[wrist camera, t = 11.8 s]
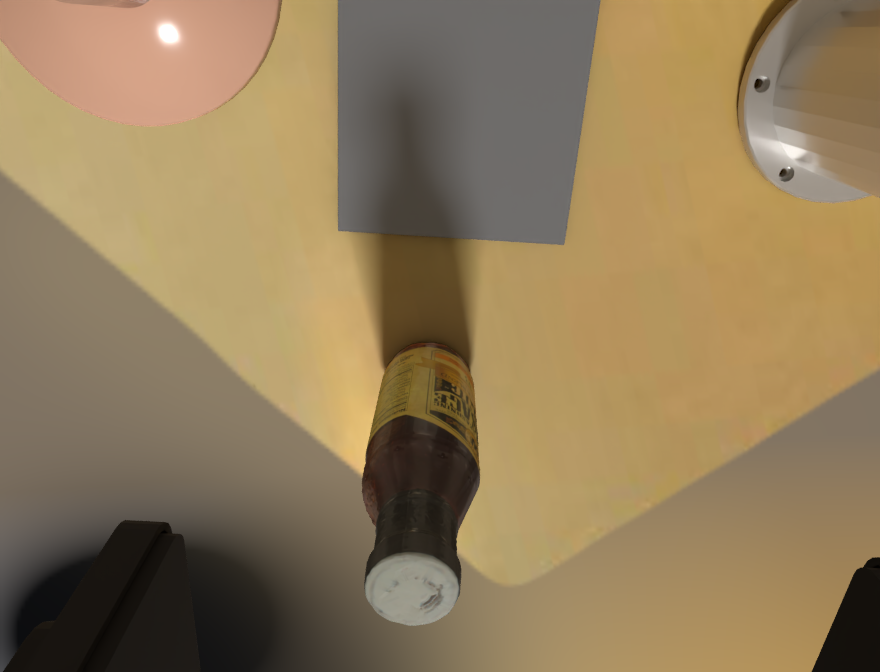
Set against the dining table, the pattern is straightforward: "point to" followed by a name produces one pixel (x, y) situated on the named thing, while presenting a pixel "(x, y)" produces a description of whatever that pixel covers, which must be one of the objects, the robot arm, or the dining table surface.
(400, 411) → the sauce bottle
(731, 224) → the dining table surface
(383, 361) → the dining table surface
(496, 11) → the mat
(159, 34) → the lid
